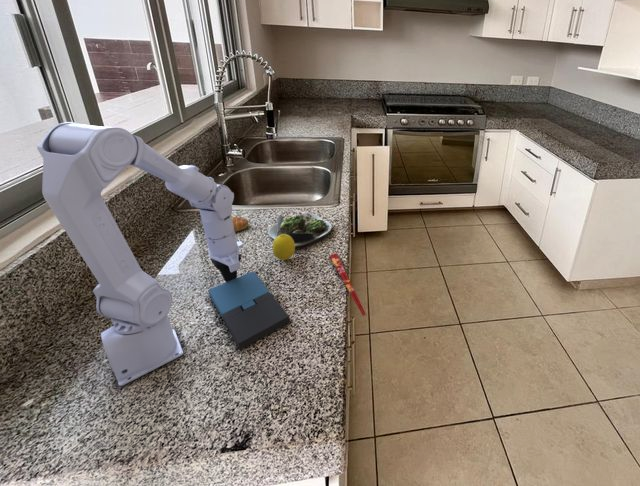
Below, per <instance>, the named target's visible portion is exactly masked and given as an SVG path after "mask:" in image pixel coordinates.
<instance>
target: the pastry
mask: <svg viewBox="0 0 640 486" xmlns="http://www.w3.org/2000/svg"><path fill="white" fill-rule="evenodd" d="M231 216H232V221H233V226H234V231H235V233H236V232H240V231H243V230H244V229H247V227H248V226H249V219H247V218H243V217H240V216H237V215H236V216H233V215H231Z"/></svg>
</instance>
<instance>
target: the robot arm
mask: <svg viewBox="0 0 640 486" xmlns="http://www.w3.org/2000/svg"><path fill="white" fill-rule="evenodd" d="M36 149H37V151H38V152H39V154H40V156H41V157H42V160H43V162H42V183H41V185H42V187H41V192H42V193H41V194H42V196H43V199H44V200H45V202H46V204H47V205H48V206H49V208H50V210H51V211H52V213H53V215H54V216H55V217H56V219H57V221H58V222H59V224H60V226H61V227H62V228H63V230H64V232H65V233H66V235H67V236H68V237H69V239H70V241H71V242H72V245H74V247H75V249H76V250H77V252H78V253H79V254H80V257H81V258H82V259H83V261H84V263H85V264H86V266H87V267H88V268H89V270H90V272H91V273H92V275H93V276H94V278H95V279H96V281H97V282H98V284H97V285H96V286H95V287H94V289H93V290H92V293H93V294H94V296H95V298H96V302H95V303H96V305H95V308H96V312H97V314H98V315H100V316H101V317H104V318H109V319H110V320H111V323H112V324H113V325H112V326H111V327H109V328H107V329H106V330H104V331H102V332H101V333H100V338H101V342H102V347H103V349H104V353H105V356H106V358H107V360H108V364H109V367H110V369H111V370H112V373H113V374H114V377H115V378H116V379H115V380H117V385H118V386H119V387H123V386H125V385H127V384H129V383H131V382H133V381H134V380H137V379H139V378H140V377H143V376H144V375H146V374H148V373H150V372H152V371H154V370H156V369H158V368H160V367H162V366H164V365H166V364H168V363H171V361H174V360H175V359H178V358H180V357H182V356H183V355H184V351H183V348H182V346H181V342H180V340H179V338H178V335H177V332H176V330H175V329H174V328H173V326H172V325H171V322H170V321H171V320H170V318H169V315H168V314H169V312H170V310H171V308H172V304H173V295H172V293H171V291H170V290H168V289H166V288H164V287H163V286H161V285H160V282H159V280H157V279H155V278H154V277H153V276H151V275H149V274H148V273H146V272H145V271H144V270H142V268H141V266H140V264H139V262H138V260H137V258H136V256H135V255H134V252H133V251H132V249H131V248H130V246H129V244H128V242H127V240H126V238H125V237H124V235H123V233H122V231H121V229H120V228H119V225H118V224H117V222H116V220H115V218H114V217H113V214H112V213H111V210H110V209H109V207H108V205H107V204H106V202H105V200H104V197H102V192H103V191H104V190H105V189H106V188H107V187H108V186H110V184H111V183H112V182H113V181H115V179H117V177H119V176H120V175H121V174H122V173H123V172H124V171H125V170H126V169H127V168H128V167H129V166H133V167H135V168H137V169H139V170H141V171H144V172H145V173H148V174H150V175H151V176H154V177H156V178H158V179H161V180H163V181H164V184H165V188H166V189H167V190H168V191H169V192H171V193H173V194H174V195H177V196H179V197H181V198H183V199H184V200H187V201H188V203H189V205H190V206H191V207H192V208H197V209H198V211H199V215H200V220H201V223H202V227H203V231H204V235H205V240H206V244H207V248H208V256H209V258H210V259H209V260H210V262H212V264H213V266H214V267H215V268H216V270H218V271H219V272H220V274H221V276H222V278H223V280H224V281H225V283H226V282H228V281H230V280H233V279H235V278H237V277H238V270H241V269H242V268H241V263H240V262H241V260H242V256H241V254H240V249H242V248H243V247H244V243H243V242H242V241H241V240H239V241H237V236H236V232H235V231H234V226H233V221H232V216H233V215H232V214H233V210H234V209H233V202H234V199H235V193H234V192H233V191H232V190H231V189H230V187H228V186H227V185H225V184H219V183H217V182H215V179H214V178H213V177H211V176H206V175H204V174H203V173H201V172H199V171H200V168H199V167H197V166H196V165H190V164H189V165H187V164H183V165H177V164H176V163H174V162H173V161H171V160H170V159H168V158H167V157H166V156H164V155H163V154H161V153H160V152H159V151H157V150H156V149H154V148H153V147H151V146H150V145H148V144H147V143H146V142H145V141H144V140H143V138H142V137H140V136H138V135H135V134H132V133H131V132H130V131H128V130H127V129H125V128H122V127H119V126H102V125H101V126H100V125H99V126H98V125H92V124H81V123H79V122H74V121H73V122H72V121H66V122H60V123H57V124H55V125H53V126H52V127H51V128H50V129H49V130H48V131H46V134H45V135H44V136H43V138H42V139H41V141H40V142H39V144H38V145H37V146H36Z"/></svg>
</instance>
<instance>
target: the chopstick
mask: <svg viewBox="0 0 640 486" xmlns="http://www.w3.org/2000/svg"><path fill="white" fill-rule="evenodd" d="M329 258H330V260H331V261H332V264H333V266H334V267H335V269H336V271H337V272H338V274H339V276H340V278H341V280H342V281H343V283H344V285H345V287H346V289H347V290H348V293H349V294H350V296H351V297H352V299H353V301H354V303H355V304H356V306H357V308H358V309H359V312H360V314H361V315H362V316H363V317H364V316H365V315H366V314H367V313H366V311H365V310H364V307H363V305H362V303H361V301H360V299H359V296H358V295H357V293H356V290H355V288H354V286H353V284H352V282H351V280H350V278H349V275H348V274H347V271H346V269H345V267H344V265H343V262H342V261H341V259H340V257H339V254H338V253H333V254H330V255H329Z"/></svg>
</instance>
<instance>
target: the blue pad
mask: <svg viewBox="0 0 640 486" xmlns="http://www.w3.org/2000/svg"><path fill="white" fill-rule="evenodd" d="M268 292H270V290H269V289H268V287H267V286H266V285H265V284H264V282H263V281H262V279H260V277H259V276H258V275H257V273H255V271H254V270H252V271H250V272H247V273H245V274H243V275H240V276H237V278H235V279H233V280H230V281H228V282H226V281H225V282H224V283H221V284H219V285H216V286H214V287H212V288H209V289H208V293H209V297H210V298H211V301H212V302H213V304H214V306H215V307H216V309H217V311H218V313H219V315H220V316H221V318H222V319H223V317H222V314H224V313H226V312H228V311H230V310H232V309H234V308H236V307H239V306H240V308H241V309H242V311H244V310H246V309H248V308H250V307H252V306H254V305H256V304H255V302H254V299H255V298H257V297H259V296H262V295H264V294H266V293H268ZM270 293H271V292H270Z"/></svg>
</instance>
